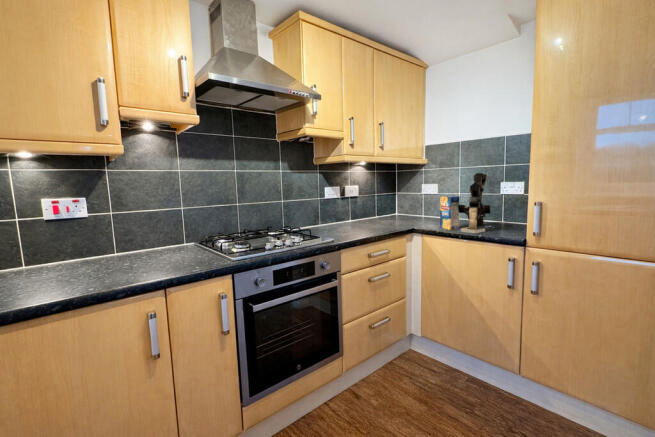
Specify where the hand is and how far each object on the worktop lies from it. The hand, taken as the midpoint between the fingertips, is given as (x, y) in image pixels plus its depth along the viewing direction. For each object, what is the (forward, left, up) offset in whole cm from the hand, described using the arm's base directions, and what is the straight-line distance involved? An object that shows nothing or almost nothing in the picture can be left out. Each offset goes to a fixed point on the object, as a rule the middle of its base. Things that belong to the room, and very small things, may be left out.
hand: (472, 219), depth 191 cm
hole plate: (-1, +1, -8) cm, 8 cm away
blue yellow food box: (-18, 0, -8) cm, 20 cm away
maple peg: (-1, +1, -7) cm, 7 cm away
